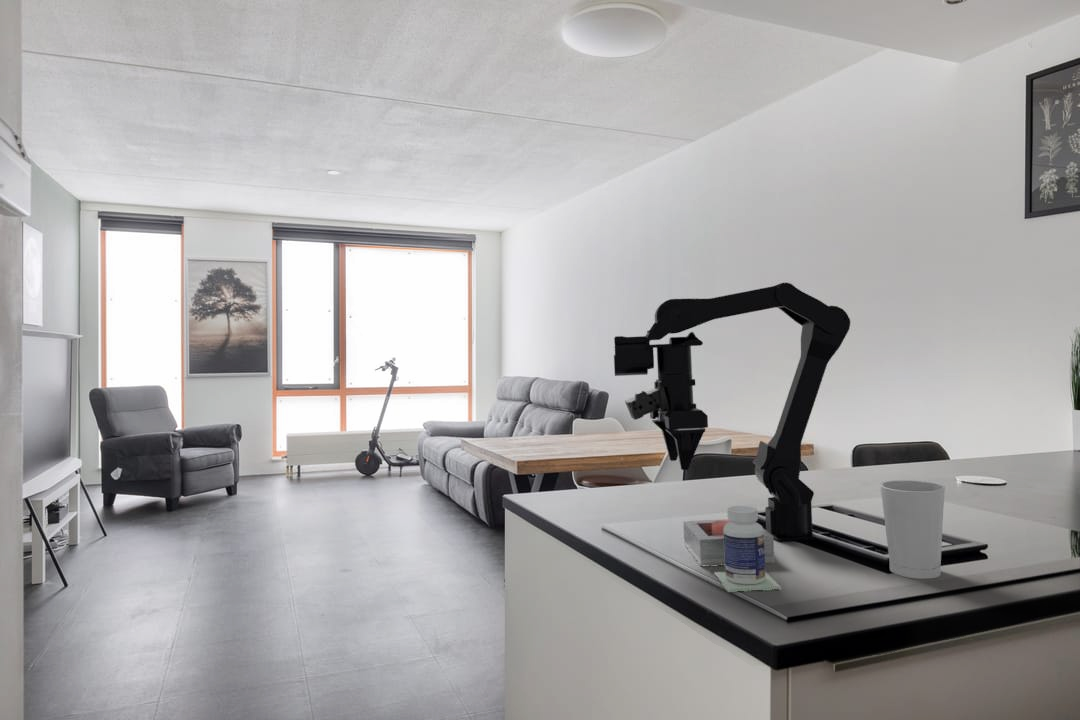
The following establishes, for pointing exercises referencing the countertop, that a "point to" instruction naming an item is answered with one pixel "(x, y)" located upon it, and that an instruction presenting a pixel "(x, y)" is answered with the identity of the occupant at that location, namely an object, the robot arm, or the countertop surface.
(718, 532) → the plunger
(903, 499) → the cup
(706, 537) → the frame
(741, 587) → the pad
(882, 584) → the countertop surface
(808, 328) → the robot arm
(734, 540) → the pill bottle
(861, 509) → the countertop surface
